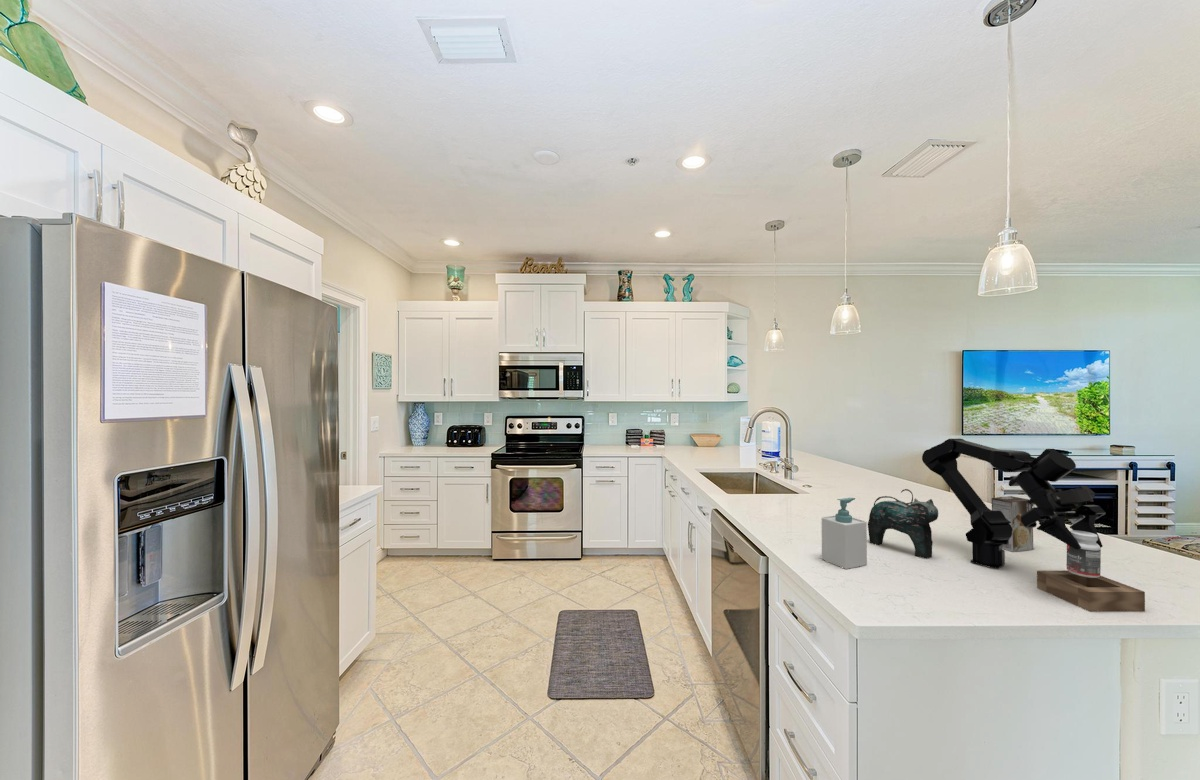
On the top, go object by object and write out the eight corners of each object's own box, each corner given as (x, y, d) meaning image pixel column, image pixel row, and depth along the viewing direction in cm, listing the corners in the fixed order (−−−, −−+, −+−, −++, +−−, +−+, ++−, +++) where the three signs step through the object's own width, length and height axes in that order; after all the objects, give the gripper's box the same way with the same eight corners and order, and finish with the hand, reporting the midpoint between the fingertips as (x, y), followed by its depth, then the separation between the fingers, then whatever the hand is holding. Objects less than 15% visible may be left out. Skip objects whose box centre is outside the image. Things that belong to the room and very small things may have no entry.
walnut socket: (1089, 611, 106) (1089, 591, 106) (1037, 587, 119) (1036, 570, 119) (1145, 611, 106) (1144, 591, 106) (1086, 587, 119) (1086, 570, 119)
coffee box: (1011, 543, 154) (1011, 495, 154) (1034, 549, 148) (1033, 499, 148) (991, 546, 151) (990, 497, 151) (1013, 552, 145) (1012, 501, 145)
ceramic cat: (940, 558, 140) (939, 493, 141) (928, 562, 137) (928, 495, 138) (875, 540, 158) (874, 482, 158) (863, 543, 155) (863, 483, 155)
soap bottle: (867, 565, 135) (867, 500, 135) (845, 569, 132) (845, 503, 132) (842, 555, 143) (842, 494, 143) (821, 559, 140) (820, 496, 140)
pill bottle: (1059, 568, 115) (1060, 529, 115) (1085, 569, 114) (1085, 529, 114) (1081, 578, 109) (1081, 536, 109) (1107, 579, 109) (1108, 537, 108)
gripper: (1032, 475, 114) (1084, 533, 103) (1096, 473, 117) (1154, 530, 106) (1001, 499, 122) (1046, 555, 111) (1061, 496, 125) (1111, 552, 114)
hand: (1089, 548), depth 110 cm, fingers closed on pill bottle, 6 cm apart
